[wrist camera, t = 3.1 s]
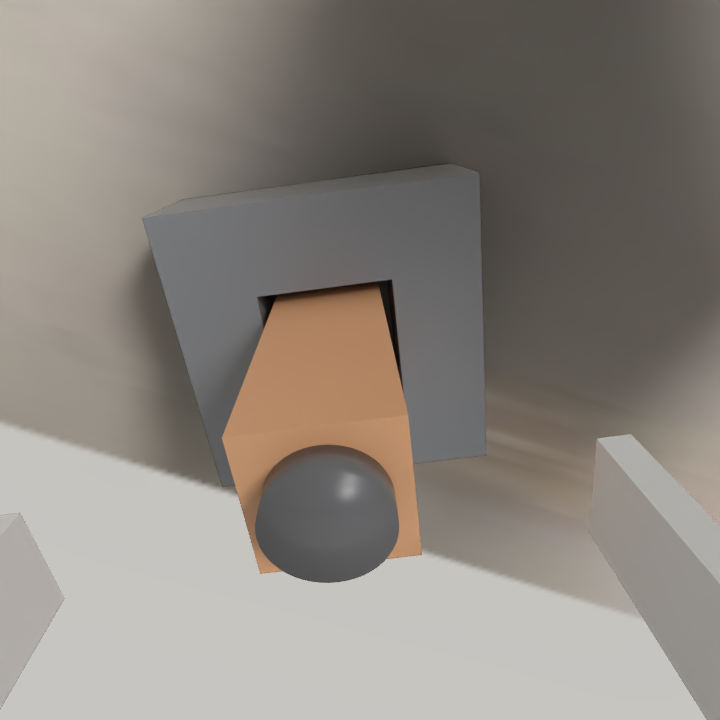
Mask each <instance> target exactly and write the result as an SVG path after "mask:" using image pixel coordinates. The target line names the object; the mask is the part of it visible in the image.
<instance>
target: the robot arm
mask: <svg viewBox="0 0 720 720" xmlns="http://www.w3.org/2000/svg"><path fill="white" fill-rule="evenodd" d="M589 533H590V535H591V536H592V538H593V540H594V541H595V543H596V544H597V546H598V547H599V549H600V551H601V552H602V554H603V555H604V557H605V559H606V560H607V562H608V563H609V565H610V567H611V568H612V570H613V571H614V573H615V575H616V576H617V578H618V579H619V581H620V582H621V584H622V586H623V587H624V589H625V590H626V592H627V594H628V595H629V597H630V598H631V600H632V602H633V603H634V605H635V606H636V608H637V609H638V611H639V613H640V614H641V616H642V617H643V619H644V621H645V622H646V624H647V625H648V627H649V629H650V630H651V632H652V633H653V635H654V636H655V638H656V640H657V641H658V643H659V644H660V646H661V647H662V649H663V651H664V652H665V654H666V656H667V657H668V659H669V660H670V662H671V663H672V665H673V667H674V668H675V670H676V671H677V673H678V675H679V676H680V678H681V679H682V681H683V683H684V684H685V686H686V687H687V689H688V690H689V692H690V694H691V695H692V697H693V698H694V700H695V701H696V703H697V705H698V706H699V708H700V710H701V711H702V713H703V714H704V716H705V718H706V719H707V720H720V525H719V524H718V523H717V522H716V521H715V520H714V519H713V518H712V517H711V516H710V515H709V514H708V513H707V512H706V511H705V510H704V509H703V508H702V507H701V506H700V505H699V504H698V503H697V502H696V501H695V500H694V499H693V498H692V497H691V496H690V494H689V493H688V492H687V491H686V490H685V489H684V488H683V487H682V486H681V485H680V484H679V483H678V482H677V481H676V480H675V479H674V478H673V477H672V476H671V475H670V474H669V473H668V472H667V471H666V470H665V469H664V468H663V467H662V466H661V465H660V464H659V463H658V462H657V460H656V459H655V458H654V457H653V456H652V455H651V454H650V453H649V452H648V451H647V450H646V449H645V448H644V447H643V446H642V445H641V444H640V443H639V442H638V441H637V440H636V439H635V438H634V437H633V436H632V435H631V434H628V435H620V436H612V437H604V438H597V441H596V453H595V465H594V477H593V489H592V502H591V514H590V526H589ZM63 600H64V597H63V595H62V593H61V591H60V589H59V587H58V585H57V583H56V581H55V579H54V577H53V575H52V573H51V572H50V570H49V568H48V566H47V564H46V562H45V560H44V558H43V556H42V554H41V552H40V550H39V548H38V546H37V544H36V542H35V541H34V539H33V537H32V535H31V533H30V531H29V529H28V527H27V525H26V523H25V521H24V519H23V517H22V515H21V513H15V514H6V515H0V709H1V707H2V705H3V704H4V702H5V700H6V698H7V697H8V695H9V693H10V691H11V690H12V688H13V686H14V685H15V683H16V681H17V679H18V678H19V676H20V674H21V673H22V671H23V669H24V667H25V666H26V663H27V662H28V660H29V659H30V657H31V655H32V653H33V652H34V650H35V648H36V647H37V645H38V643H39V642H40V640H41V638H42V636H43V635H44V633H45V631H46V630H47V628H48V626H49V624H50V622H51V621H52V619H53V617H54V616H55V614H56V612H57V611H58V609H59V607H60V605H61V604H62V602H63Z"/></svg>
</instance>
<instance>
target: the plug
mask: <svg viewBox="0 0 720 720" xmlns="http://www.w3.org/2000/svg"><path fill="white" fill-rule="evenodd" d="M222 441H223V444H224V448H225V451H226V455H227V458H228V462H229V465H230V469H231V472H232V476H233V479H234V483H235V486H236V490H237V493H238V497H239V500H240V504H241V507H242V510H243V514H244V517H245V521H246V525H247V528H248V531H249V535H250V539H251V542H252V546H253V549H254V553H255V556H256V560H257V564H258V567H259V570H260V573H261V574H262V573H271V572H279V571H284V572H286V573H287V574H290V575H292V576H294V577H297V578H300V579H303V580H307V581H313V582H323V583H324V582H325V583H331V582H341V581H347V580H351V579H354V578H357V577H360V576H362V575H364V574H366V573H369V572H370V571H372V570H374V569H375V568H377V567H378V566H379V565H380V564H381V563H383V562H384V561H385V559H390V558H399V557H408V556H416V555H422V550H421V540H420V530H419V520H418V509H417V499H416V489H415V479H414V469H413V459H412V448H411V438H410V428H409V418H408V412H407V407H406V403H405V399H404V394H403V390H402V385H401V381H400V377H399V372H398V368H397V364H396V359H395V355H394V350H393V346H392V342H391V337H390V333H389V328H388V324H387V320H386V315H385V311H384V306H383V302H382V298H381V293H380V289H379V284H378V281H376V282H368V283H360V284H353V285H345V286H337V287H330V288H322V289H314V290H306V291H299V292H291V293H283V294H277V297H276V299H275V302H274V304H273V307H272V310H271V312H270V315H269V317H268V320H267V323H266V325H265V328H264V330H263V333H262V335H261V338H260V341H259V343H258V346H257V348H256V351H255V354H254V356H253V359H252V361H251V364H250V366H249V369H248V372H247V374H246V377H245V379H244V382H243V385H242V387H241V390H240V392H239V395H238V397H237V400H236V403H235V405H234V408H233V410H232V413H231V416H230V418H229V421H228V423H227V426H226V428H225V431H224V434H223V436H222Z"/></svg>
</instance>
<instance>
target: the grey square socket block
mask: <svg viewBox="0 0 720 720" xmlns="http://www.w3.org/2000/svg"><path fill="white" fill-rule="evenodd" d="M142 219H143V223H144V226H145V229H146V233H147V236H148V240H149V243H150V246H151V250H152V253H153V256H154V260H155V263H156V266H157V270H158V273H159V276H160V280H161V283H162V286H163V290H164V293H165V297H166V300H167V303H168V307H169V310H170V313H171V317H172V320H173V323H174V327H175V330H176V333H177V337H178V340H179V343H180V347H181V350H182V353H183V357H184V360H185V364H186V367H187V370H188V374H189V377H190V380H191V384H192V387H193V390H194V394H195V397H196V400H197V404H198V407H199V410H200V414H201V417H202V421H203V424H204V427H205V431H206V434H207V437H208V441H209V444H210V447H211V451H212V454H213V457H214V461H215V464H216V467H217V471H218V474H219V477H220V481H221V484H222V487H227V486H235V483H234V479H233V476H232V472H231V469H230V465H229V462H228V458H227V455H226V451H225V448H224V444H223V441H222V436H223V434H224V431H225V428H226V426H227V423H228V421H229V418H230V416H231V413H232V410H233V408H234V405H235V403H236V400H237V397H238V395H239V392H240V390H241V387H242V385H243V382H244V379H245V377H246V374H247V372H248V369H249V366H250V364H251V361H252V359H253V356H254V354H255V351H256V348H257V346H258V343H259V341H260V338H261V335H262V333H263V330H264V328H265V325H266V323H267V320H268V317H269V315H270V312H271V310H272V307H273V304H274V302H275V299H276V297H277V294H283V293H291V292H299V291H306V290H314V289H322V288H330V287H337V286H345V285H353V284H360V283H368V282H376V281H378V284H379V289H380V293H381V298H382V302H383V306H384V311H385V315H386V320H387V324H388V328H389V333H390V337H391V342H392V346H393V350H394V355H395V359H396V364H397V368H398V372H399V377H400V381H401V385H402V390H403V394H404V399H405V403H406V407H407V412H408V418H409V428H410V438H411V448H412V459H413V464H416V463H425V462H433V461H441V460H449V459H458V458H466V457H474V456H482V455H486V422H485V380H484V337H483V295H482V253H481V211H480V173H479V172H476V171H473V170H470V169H467V168H464V167H461V166H458V165H455V164H453V163H449V164H442V165H435V166H427V167H420V168H412V169H405V170H398V171H390V172H383V173H375V174H368V175H361V176H353V177H346V178H338V179H331V180H324V181H316V182H309V183H301V184H294V185H286V186H279V187H272V188H264V189H257V190H249V191H242V192H235V193H227V194H220V195H212V196H205V197H198V198H190V199H183V200H180V201H178V202H176V203H174V204H172V205H169V206H167V207H165V208H163V209H161V210H159V211H156V212H154V213H152V214H150V215H148V216H145V217H143V218H142Z"/></svg>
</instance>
